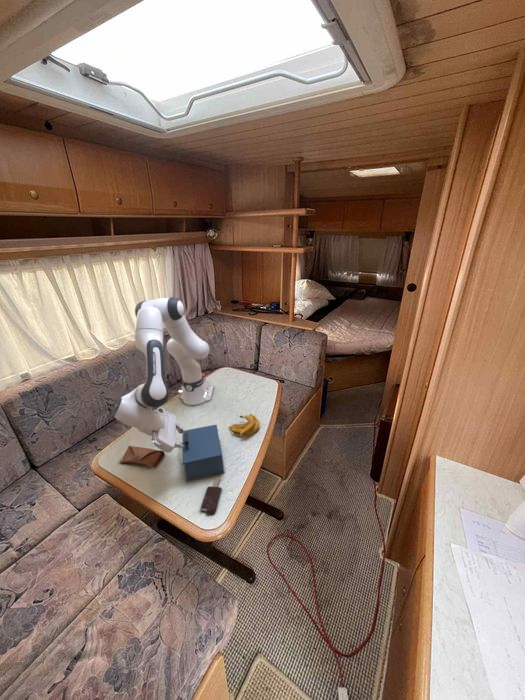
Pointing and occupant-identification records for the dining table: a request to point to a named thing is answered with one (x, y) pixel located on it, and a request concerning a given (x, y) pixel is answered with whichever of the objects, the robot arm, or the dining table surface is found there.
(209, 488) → the ice cream bar
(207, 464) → the cool box
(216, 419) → the dining table surface
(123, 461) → the sunglasses case
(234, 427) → the banana
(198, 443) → the cool box lid
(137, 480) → the dining table surface
